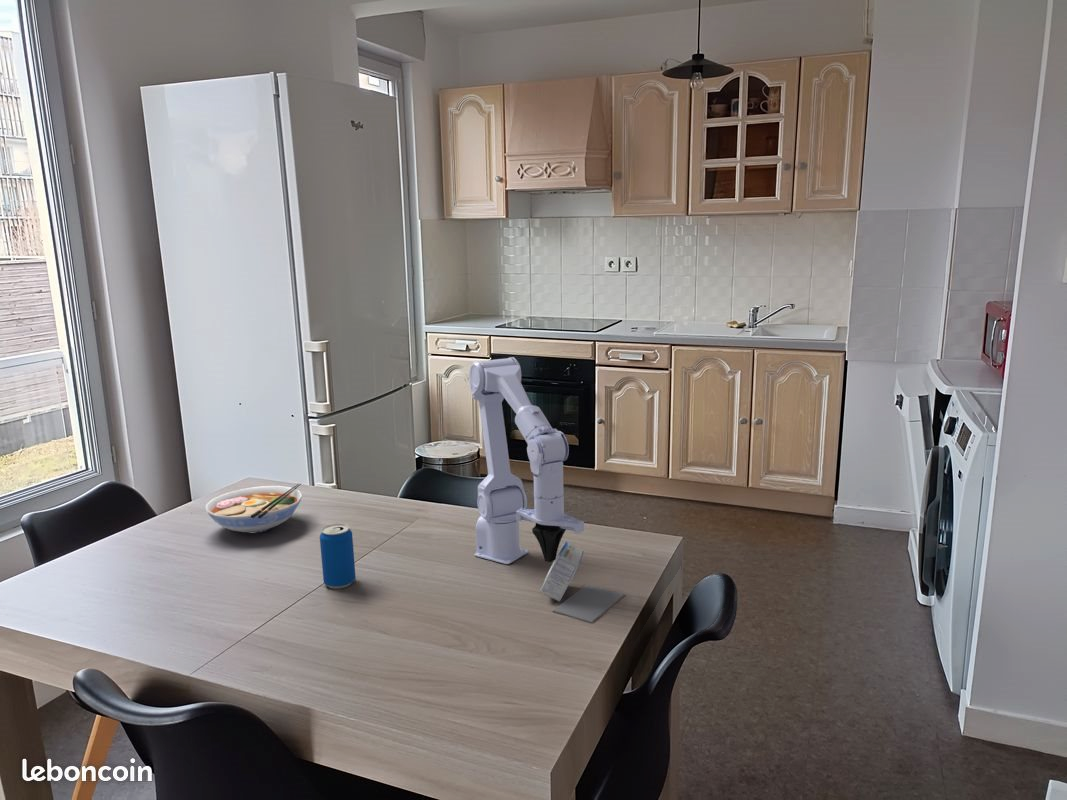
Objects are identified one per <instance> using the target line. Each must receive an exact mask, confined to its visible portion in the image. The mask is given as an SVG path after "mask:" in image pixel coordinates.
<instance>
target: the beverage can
mask: <svg viewBox="0 0 1067 800" xmlns="http://www.w3.org/2000/svg"><path fill="white" fill-rule="evenodd" d="M320 531H321V533H320V535H319V542H320V545H319V546H320V554H321V555H320V557H321V569H322V578H323V579H322V581H323V584H324V585H325V586H327V587H328V588H330V589H336V590H338V589H343V588H346V587H349V586H350V585H352V584H353V582H355V581H356V577H357V576H356V566H355V563H356V562H355V552H354V541H353V540H354V539H353V531H352V530H351V529H350V525H348V524H346V523H334V524H329V525H326V526H324V527H322V529H321V530H320Z"/></svg>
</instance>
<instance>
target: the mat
mask: <svg viewBox="0 0 1067 800" xmlns="http://www.w3.org/2000/svg"><path fill="white" fill-rule="evenodd" d="M624 596H625V593H623V592H619V591H615V590H610V589H608V588H607V589H606V588H603V587H600V586H595V585H592V584H590V583H589V584H588V583H587V584H586V585H584V586H583V587H582V588H580V589H579V590H578V591H576V592H575V593H573V594H572V595H571V596H570V597H569V598H568V599H566V600H565V601H563V602H562V603H561V604H559V605H558V606H556V608H554V609H553V610H552V613H556V614H559V615H562V616H565V617H570V618H572V619H576V620H579V621H582V622H587V623H589V624H593V623H594V622H595V621H596V620H597V619H599V618H600V617H601V616H602V615H603V614H605V613H606V612H607V611H608V610H609V609H610V608H611V607H613V606H614V605H615V604H616V603H618V602H619V601H620V600H621V599H623V598H624Z"/></svg>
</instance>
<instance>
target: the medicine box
mask: <svg viewBox="0 0 1067 800" xmlns="http://www.w3.org/2000/svg"><path fill="white" fill-rule="evenodd" d="M583 555H584V549H582V548H579V547H578V546H576V545H574V544H572V543H570V542H568V541H564V542H563V543H562V545H561V547H560V549H559V551H558V552H557V555H556V559H555V560H554V561H552V564H551V566H550V568H549V570H548V572H547V574H546V576H545V579H544V581H543V582H542V583H543V584H542V586H541V587H540V591H539V592H541V593H543V594H544V595H545V596H548V597H550V598H551V599H553V600H555V601H557V602H561V600H562V598H563V596H564V595H565V593H566V591H567V589H568V587H569V585H570V583H571V581H572V580H573V578H574V576H575V574H576V572H577V571H578V569H579V567H580V563H581V560H582V557H583Z"/></svg>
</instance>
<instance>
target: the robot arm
mask: <svg viewBox="0 0 1067 800" xmlns="http://www.w3.org/2000/svg"><path fill="white" fill-rule="evenodd" d="M468 379H469V384H470V385H469V386H470V392H471V395H472V396H471V397H472V399H473V400H475V401H477V402H478V406H479V413H480V414H479V415H480V420H481V421H480V422H481V429H482V436H483V444H484V451H485V458H486V466H487V467H486V468H487V476H485V478H484V479H483V480H482V481H480V483H479V484H478V485H477V500H476V501H477V502H476V503H477V509H478V512H479V515H480V516H479V517H478V519H477V522H476V524H475V547H476V550H475V551H476V552H475V553H474V557H478V558H482V559H484V560H485V559H486V560H489V561H492V562H497V563H499V564H500V563H501V564H503V565H510V564H511V563H513V562H515V561H516V560H518V559H520V558H521V557H523V556H525V555H526V554H528V553H529V550H528V549H526V548H525V549H524V548H521V539H520V522H521V521H526V522H530V523H535V525H534V527H532V528H531V530H532V531H531V532H532V533H533V535H534V536H535V538H536V540H537V542H538V544H539V547H540V549H541V553H542V555H543V560H544V562H547V563H553V562H554V560H555V559H556V557H557V555H558V549H559V545H560V543H561V540H562V539H563V537H564V534H565V532H566V530H567V531H571V532H573V533H574V534H577V535H579V534H580V533H582V532H584V530H585V522H584V521H585V520H580V519H578V518H576V517H573V516H570V515H568V514H566V513H564V512H565V506H564V505H565V503H564V500H565V499H564V462H566V461H567V460H568V457H569V451H570V449H569V448H570V446H569V443H568V440H567V437H566V436H565V435H566V434H565V433H564V432H562V431H561V430H558V429H557V428H553V427H552V426H551V424H550V422H549V420H548V419H547V417H546V415H545V414H544V412H543V411H542V410H541V408H540V406H537V405H532V403H531V401H530V399H529V397H528V395H527V392H526V391H525V387H523V384H522V369H521V364H520V363H519V361H518V360H517V359H516V358H515V357H514V356H511V357H510V356H509V357H508V358H497V359H491V360H489V359H488V360H480V361H479V360H474V361H473V362H472V364H471V365H470V368H469V371H468ZM504 399H505V401H506V402H507V404H508V405H509V406H510V407H511V409H512V410H513V412H514V413H515V414H516V415H515V417H514V423H515V425H516V427H517V428H518V430H519V432H520V434H521V436H522V437H523V439H524V440H525V442H526V444H527V447H526V452H527V457H528V460H529V464H530V465H529V467H530V471H531V473H532V474H533V502H534V504H533V505H534V506H533V509H530V508H527V506H528V497H527V494H526V491H525V489H524V484H523V480H522V479H521V478H520V477H518V476H517V475H515V474H513V473H512V471H511V465H510V464H511V463H510V457H509V449H508V442H507V441H508V439H507V435H506V434H507V433H506V426H505V418H504V410H503V404H502V402H503V401H504Z"/></svg>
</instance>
